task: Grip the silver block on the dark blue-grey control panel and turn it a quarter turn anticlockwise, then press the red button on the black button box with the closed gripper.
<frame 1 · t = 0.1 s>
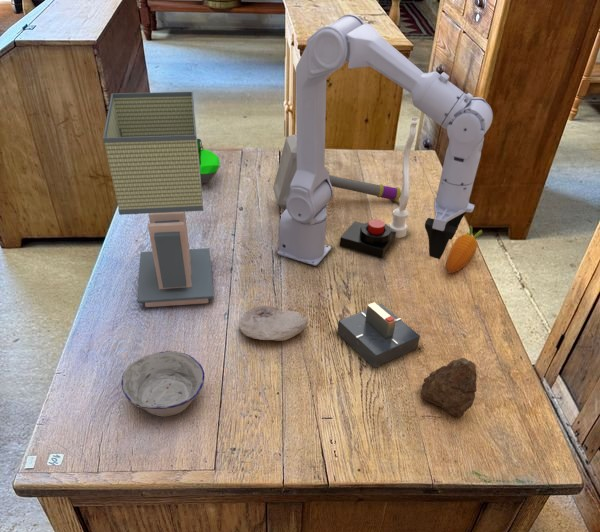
hand: (441, 247, 109), 10 cm above the table, tool pointing down, fingers open, 7 cm apart
panel: (376, 340, 105), on the table
desk lamp: (177, 284, 115), on the table
hammer: (337, 204, 140), on the table
carrot: (448, 272, 118), point 2 cm above the table
button box: (367, 243, 128), on the table
red button: (376, 227, 124), point 4 cm above the table, slide at 0.1 cm
silver block: (380, 319, 101), point 5 cm above the table, hinge at 0.0°
bowl: (167, 399, 94), on the table
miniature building: (197, 181, 146), on the table
fossil: (272, 332, 106), on the table
rock: (444, 407, 94), on the table
decorative finial: (396, 232, 132), on the table
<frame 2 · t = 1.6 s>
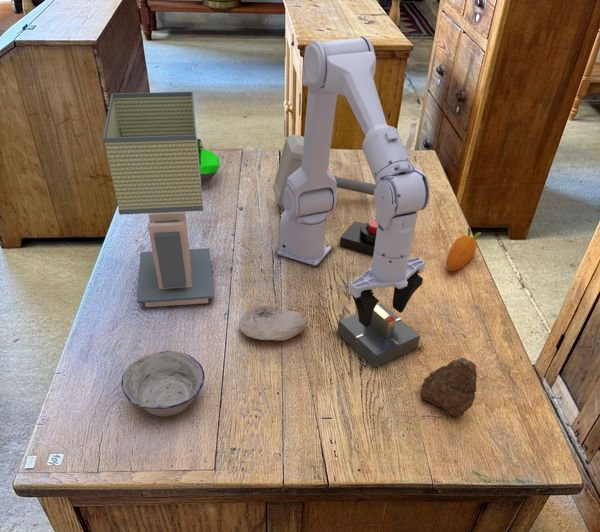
hand: (381, 316, 101), 6 cm above the table, tool pointing down, fingers open, 7 cm apart
nothing on the table moved.
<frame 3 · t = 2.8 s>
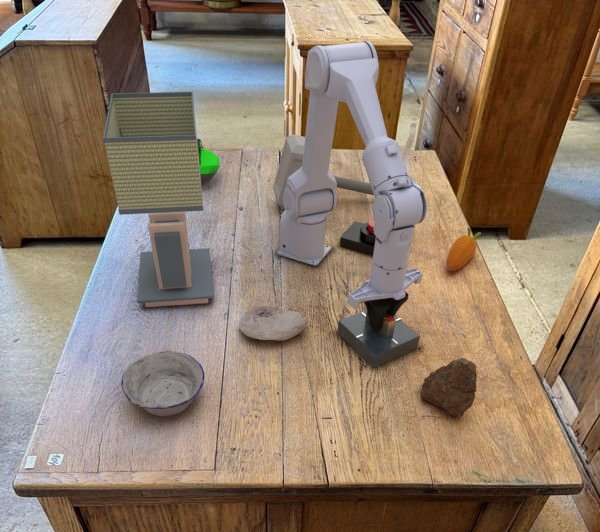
hand: (379, 326, 102), 4 cm above the table, tool pointing down, fingers closed on silver block, 2 cm apart
silver block: (380, 319, 101), point 5 cm above the table, hinge at 0.1°, touching gripper
everything else where it was.
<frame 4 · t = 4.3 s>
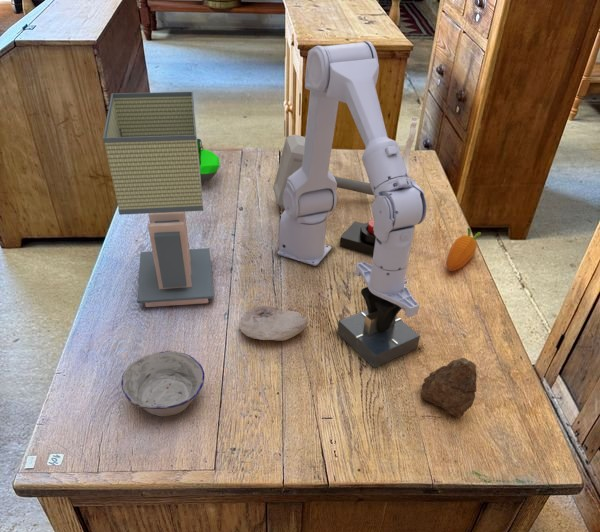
hand: (379, 326, 103), 3 cm above the table, tool pointing down, fingers closed on silver block, 2 cm apart
silver block: (380, 319, 101), point 5 cm above the table, hinge at 89.8°, touching gripper
everything else where it was.
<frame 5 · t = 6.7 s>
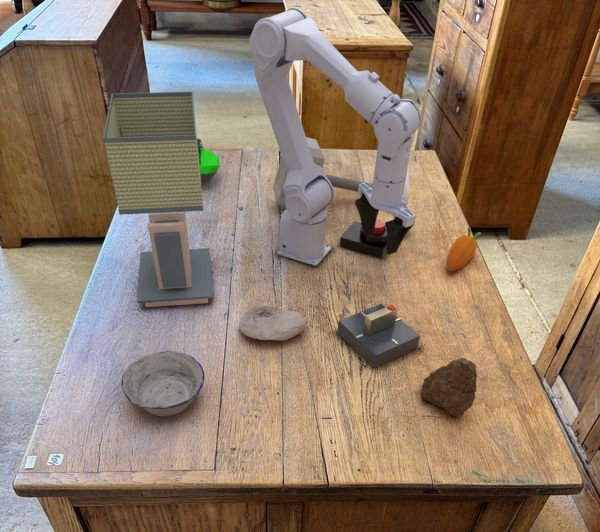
hand: (379, 243, 113), 8 cm above the table, tool pointing down, fingers open, 7 cm apart
silver block: (380, 319, 101), point 5 cm above the table, hinge at 89.8°
everything else where it was.
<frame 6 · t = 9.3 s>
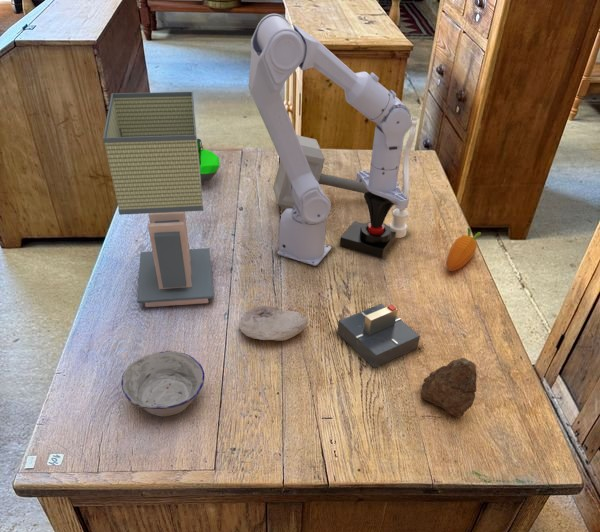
hand: (376, 225, 124), 5 cm above the table, tool pointing down, fingers closed, pressing on red button
red button: (375, 229, 124), point 4 cm above the table, slide at -0.4 cm, touching gripper
everything else where it was.
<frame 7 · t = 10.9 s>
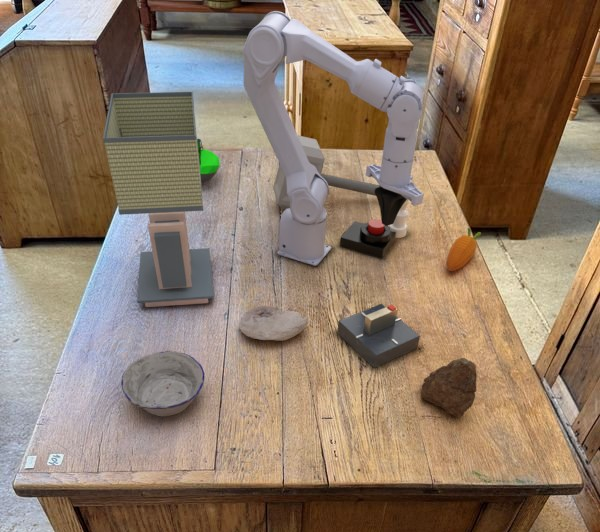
hand: (387, 223, 116), 9 cm above the table, tool pointing down, fingers closed
red button: (376, 227, 124), point 4 cm above the table, slide at 0.1 cm
everything else where it was.
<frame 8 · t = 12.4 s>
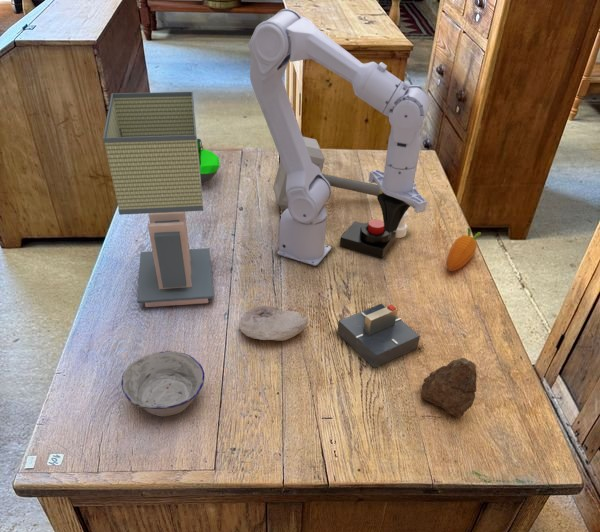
hand: (390, 230, 114), 9 cm above the table, tool pointing down, fingers closed
nothing on the table moved.
at the end: silver block at +90° (first picture: +0°); red button pushed in 1.2 cm at the most during the clip, back to where it started at the end; red button slide at 0.1 cm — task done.
